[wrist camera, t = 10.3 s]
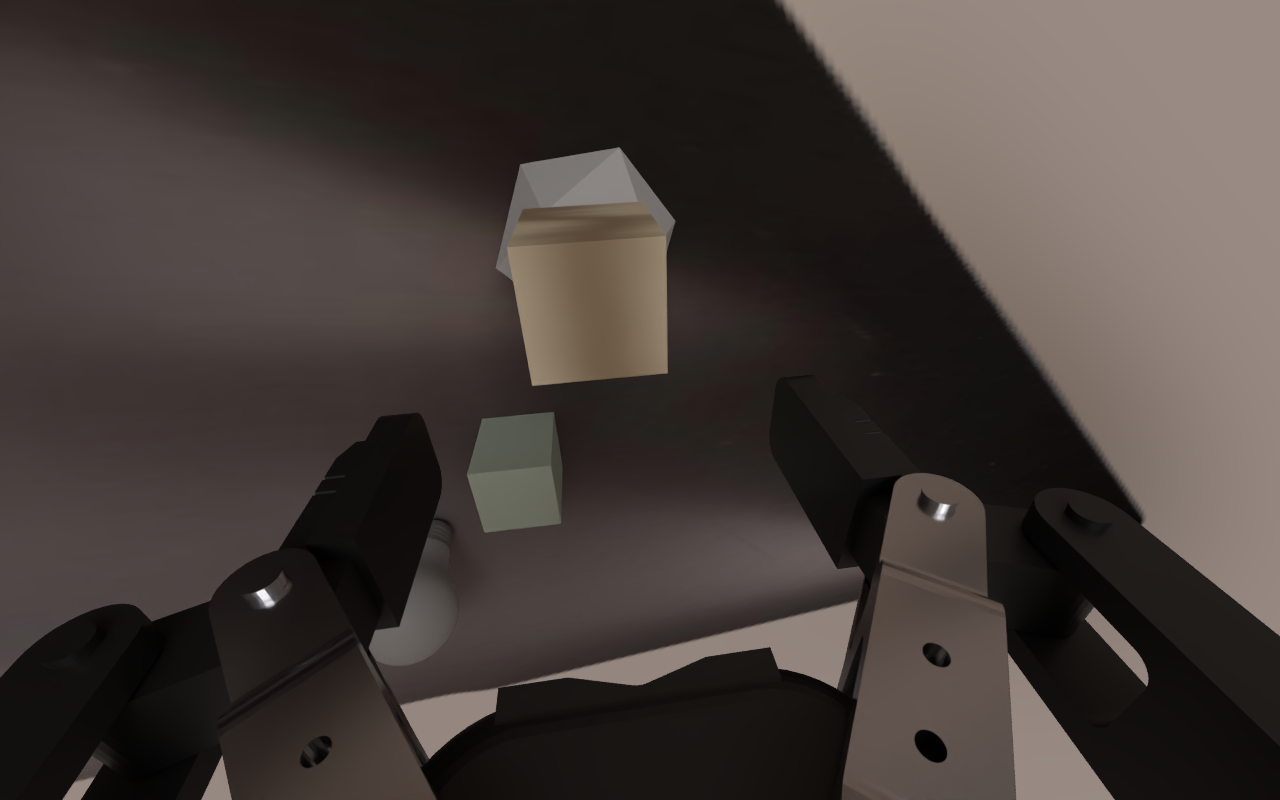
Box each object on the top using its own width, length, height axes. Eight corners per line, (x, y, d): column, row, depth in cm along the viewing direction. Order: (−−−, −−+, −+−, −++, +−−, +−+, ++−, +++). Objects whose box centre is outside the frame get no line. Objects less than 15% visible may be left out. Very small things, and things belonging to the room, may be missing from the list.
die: (492, 150, 26) (444, 300, 22) (621, 69, 21) (588, 241, 18) (588, 244, 32) (563, 374, 28) (705, 198, 27) (694, 346, 24)
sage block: (496, 472, 37) (484, 532, 32) (482, 418, 34) (466, 474, 29) (562, 465, 37) (561, 523, 32) (553, 411, 34) (550, 465, 29)
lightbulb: (445, 484, 37) (402, 615, 27) (492, 532, 40) (468, 664, 31) (378, 515, 37) (315, 652, 28) (430, 559, 41) (388, 696, 31)
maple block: (540, 321, 23) (532, 385, 18) (522, 208, 20) (507, 247, 15) (646, 312, 23) (667, 373, 18) (642, 201, 20) (666, 235, 15)
